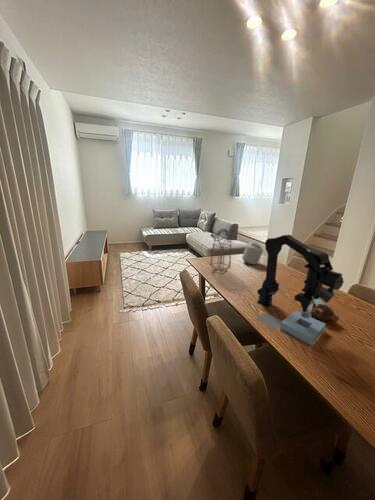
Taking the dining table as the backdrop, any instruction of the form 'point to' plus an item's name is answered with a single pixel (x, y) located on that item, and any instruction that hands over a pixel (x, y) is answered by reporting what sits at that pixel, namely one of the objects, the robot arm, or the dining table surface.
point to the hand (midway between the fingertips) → (306, 310)
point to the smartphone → (319, 302)
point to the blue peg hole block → (303, 327)
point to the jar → (252, 253)
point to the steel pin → (308, 312)
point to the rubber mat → (270, 320)
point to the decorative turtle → (323, 313)
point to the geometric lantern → (222, 248)
